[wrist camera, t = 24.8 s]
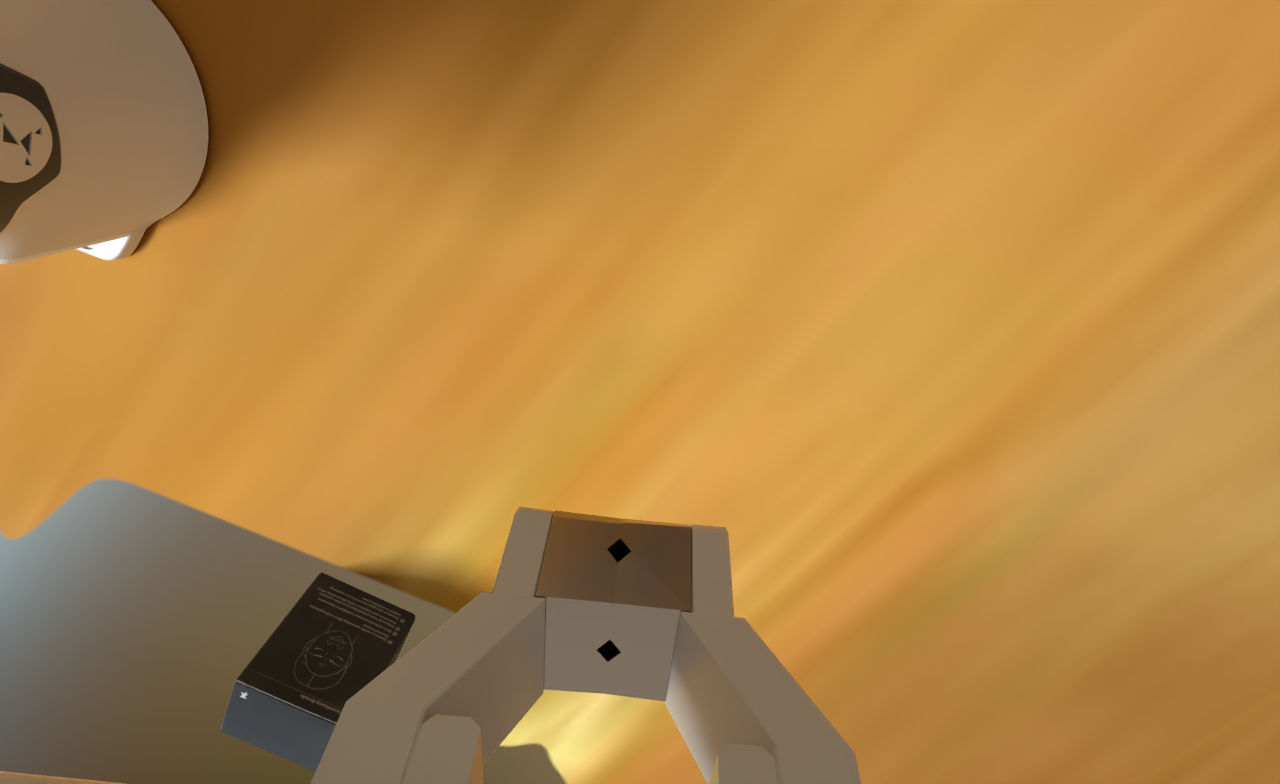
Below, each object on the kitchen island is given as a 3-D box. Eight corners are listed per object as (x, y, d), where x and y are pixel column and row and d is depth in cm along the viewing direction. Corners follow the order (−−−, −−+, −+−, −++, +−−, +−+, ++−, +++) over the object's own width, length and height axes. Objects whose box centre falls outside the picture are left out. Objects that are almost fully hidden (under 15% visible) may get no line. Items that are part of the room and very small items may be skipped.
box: (304, 618, 58) (216, 732, 49) (322, 568, 56) (232, 678, 46) (397, 661, 59) (328, 782, 49) (419, 613, 56) (350, 731, 47)
